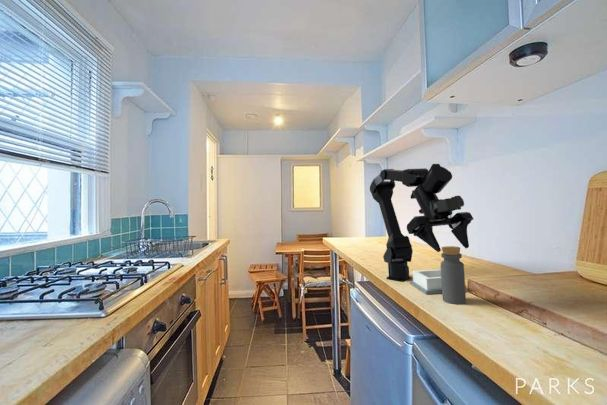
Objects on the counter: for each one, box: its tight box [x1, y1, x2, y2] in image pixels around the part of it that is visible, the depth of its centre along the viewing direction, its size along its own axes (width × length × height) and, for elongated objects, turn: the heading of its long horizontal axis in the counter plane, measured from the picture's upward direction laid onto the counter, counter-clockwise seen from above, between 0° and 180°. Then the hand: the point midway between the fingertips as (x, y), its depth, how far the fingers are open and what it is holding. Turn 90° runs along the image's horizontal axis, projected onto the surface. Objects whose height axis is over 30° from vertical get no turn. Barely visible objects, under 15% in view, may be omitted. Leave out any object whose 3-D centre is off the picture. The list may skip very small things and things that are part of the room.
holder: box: [409, 268, 442, 295], centre depth 93 cm, size 12×12×4 cm
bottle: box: [440, 245, 467, 305], centre depth 80 cm, size 6×6×15 cm
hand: (453, 249), depth 78 cm, fingers open, 9 cm apart
